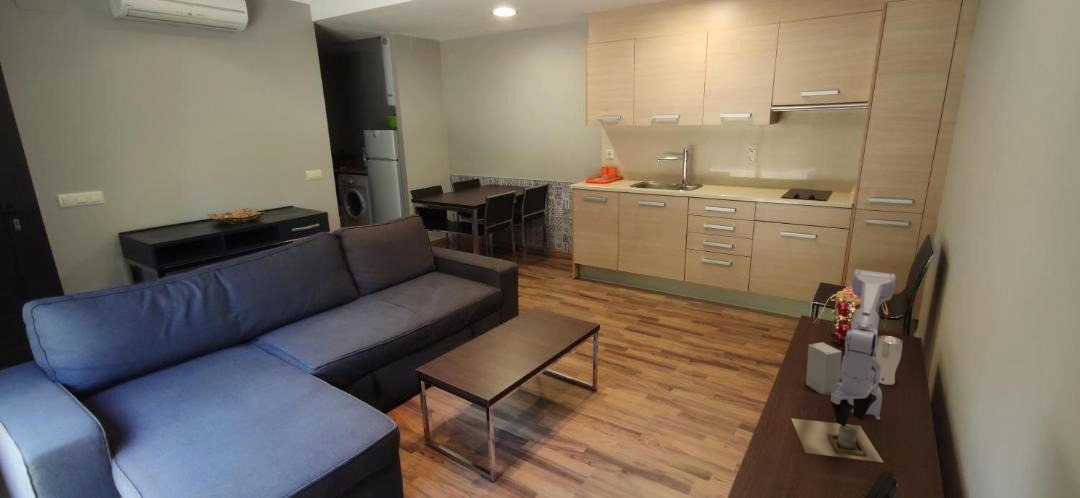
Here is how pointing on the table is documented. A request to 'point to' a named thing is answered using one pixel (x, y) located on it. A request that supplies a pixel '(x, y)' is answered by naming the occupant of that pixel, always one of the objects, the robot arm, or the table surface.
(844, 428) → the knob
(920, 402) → the table surface
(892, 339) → the beer glass
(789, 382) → the table surface
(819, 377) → the skincare box
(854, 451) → the board
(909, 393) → the table surface
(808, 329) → the table surface
